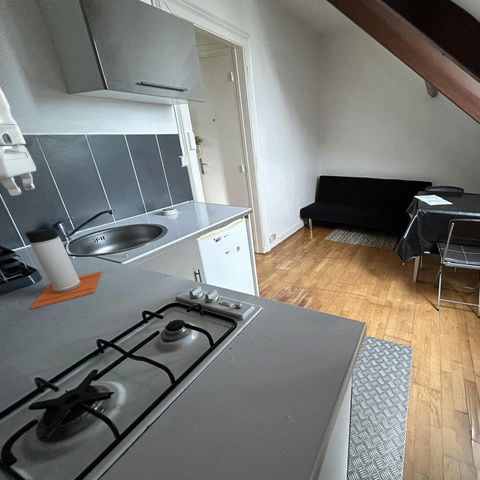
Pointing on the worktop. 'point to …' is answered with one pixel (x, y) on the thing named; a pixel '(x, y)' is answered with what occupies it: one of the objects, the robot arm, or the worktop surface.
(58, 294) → the drying mat
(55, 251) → the travel mug
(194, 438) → the worktop surface
